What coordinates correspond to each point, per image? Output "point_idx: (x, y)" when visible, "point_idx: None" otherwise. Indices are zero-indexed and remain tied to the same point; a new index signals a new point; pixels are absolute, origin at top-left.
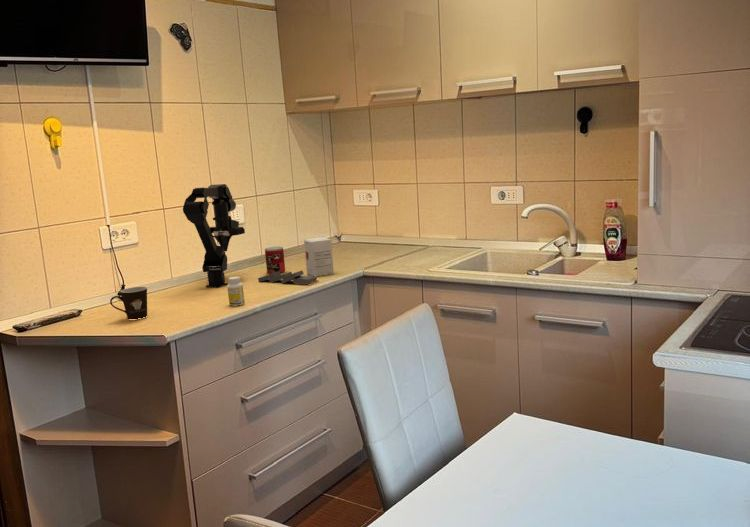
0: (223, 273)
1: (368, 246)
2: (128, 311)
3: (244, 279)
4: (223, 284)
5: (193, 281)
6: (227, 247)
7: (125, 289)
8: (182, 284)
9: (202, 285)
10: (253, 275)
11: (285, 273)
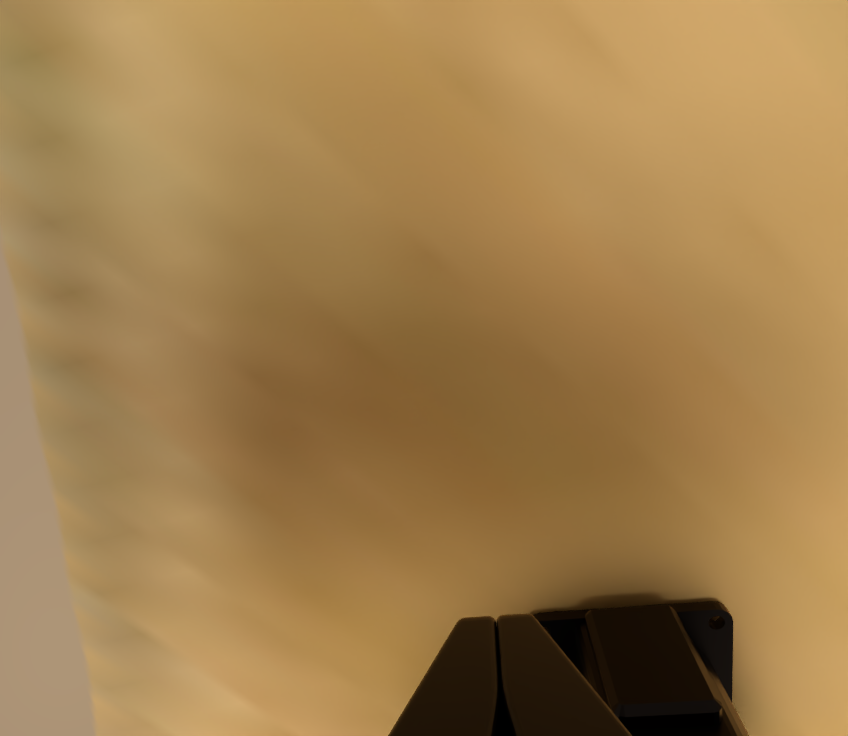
0: (734, 727)
1: None
2: None
3: (751, 304)
4: (728, 682)
5: (111, 592)
6: (600, 714)
7: None
8: (134, 729)
9: None
10: (703, 6)
11: None
